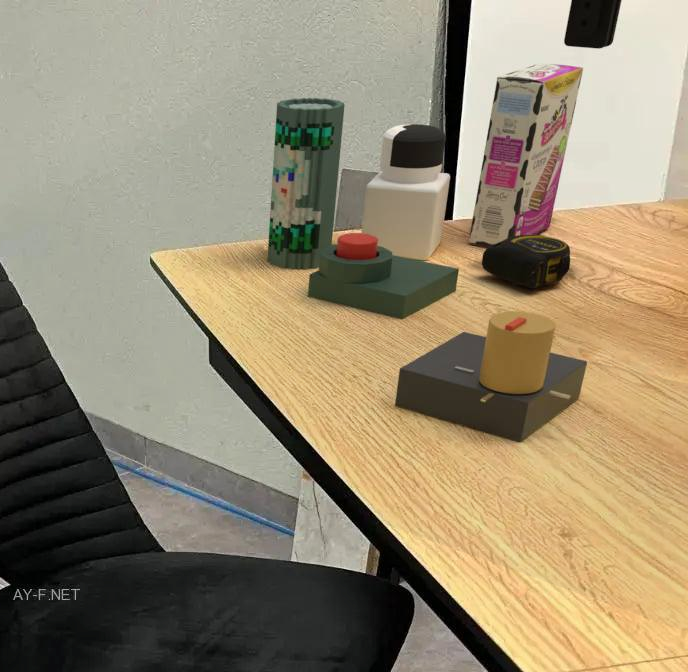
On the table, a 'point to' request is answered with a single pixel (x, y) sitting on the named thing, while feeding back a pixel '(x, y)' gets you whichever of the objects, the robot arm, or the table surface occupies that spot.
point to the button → (357, 246)
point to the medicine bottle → (408, 192)
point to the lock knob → (516, 352)
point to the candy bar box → (524, 152)
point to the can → (304, 181)
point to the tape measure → (528, 260)
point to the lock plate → (484, 390)
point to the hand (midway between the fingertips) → (587, 45)
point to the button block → (381, 282)
